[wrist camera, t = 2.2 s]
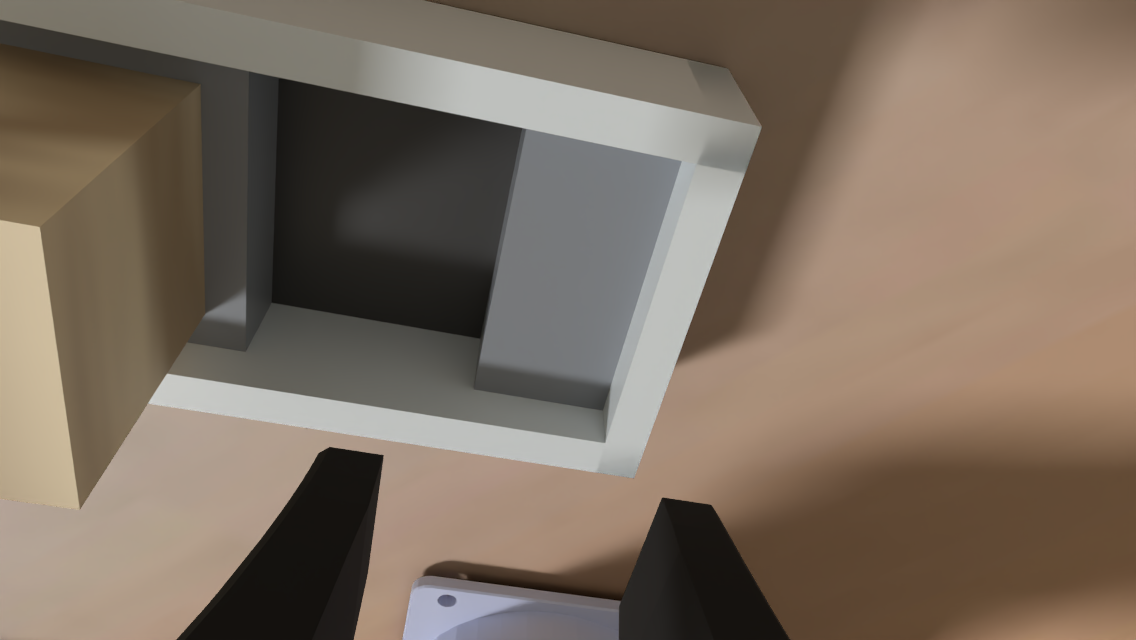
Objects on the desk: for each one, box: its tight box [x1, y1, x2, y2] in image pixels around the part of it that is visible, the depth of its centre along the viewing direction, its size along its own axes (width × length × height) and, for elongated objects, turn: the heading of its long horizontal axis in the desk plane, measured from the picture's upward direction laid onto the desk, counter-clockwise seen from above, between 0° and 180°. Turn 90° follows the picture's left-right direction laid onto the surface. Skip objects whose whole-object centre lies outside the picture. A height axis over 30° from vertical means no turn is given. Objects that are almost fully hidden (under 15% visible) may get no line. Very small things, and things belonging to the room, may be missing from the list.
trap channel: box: [0, 0, 762, 478], centre depth 15 cm, size 23×11×3 cm, turn 77°
